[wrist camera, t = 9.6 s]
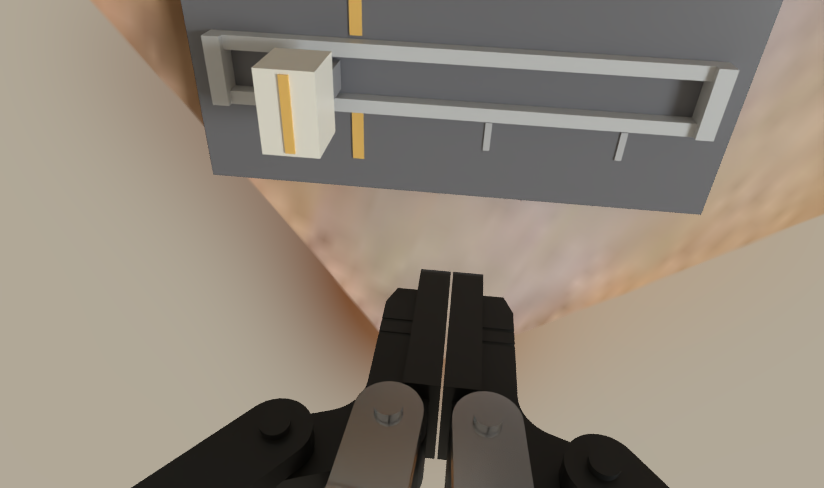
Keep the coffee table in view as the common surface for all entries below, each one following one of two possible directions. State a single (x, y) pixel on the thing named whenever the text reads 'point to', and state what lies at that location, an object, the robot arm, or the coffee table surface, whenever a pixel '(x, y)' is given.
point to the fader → (296, 101)
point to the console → (495, 93)
